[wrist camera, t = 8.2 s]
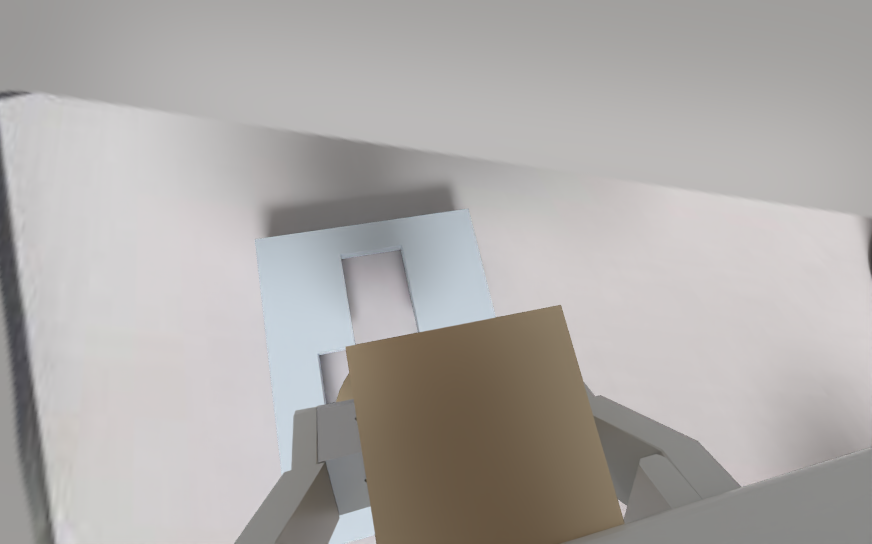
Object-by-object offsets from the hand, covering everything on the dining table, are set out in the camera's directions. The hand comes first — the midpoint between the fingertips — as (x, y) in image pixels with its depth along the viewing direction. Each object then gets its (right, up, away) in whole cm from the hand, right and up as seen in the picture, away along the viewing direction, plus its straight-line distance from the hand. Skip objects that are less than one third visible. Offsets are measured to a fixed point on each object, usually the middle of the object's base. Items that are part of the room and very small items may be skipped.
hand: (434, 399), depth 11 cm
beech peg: (-1, -3, +6) cm, 7 cm away
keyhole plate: (-3, -3, +19) cm, 19 cm away
